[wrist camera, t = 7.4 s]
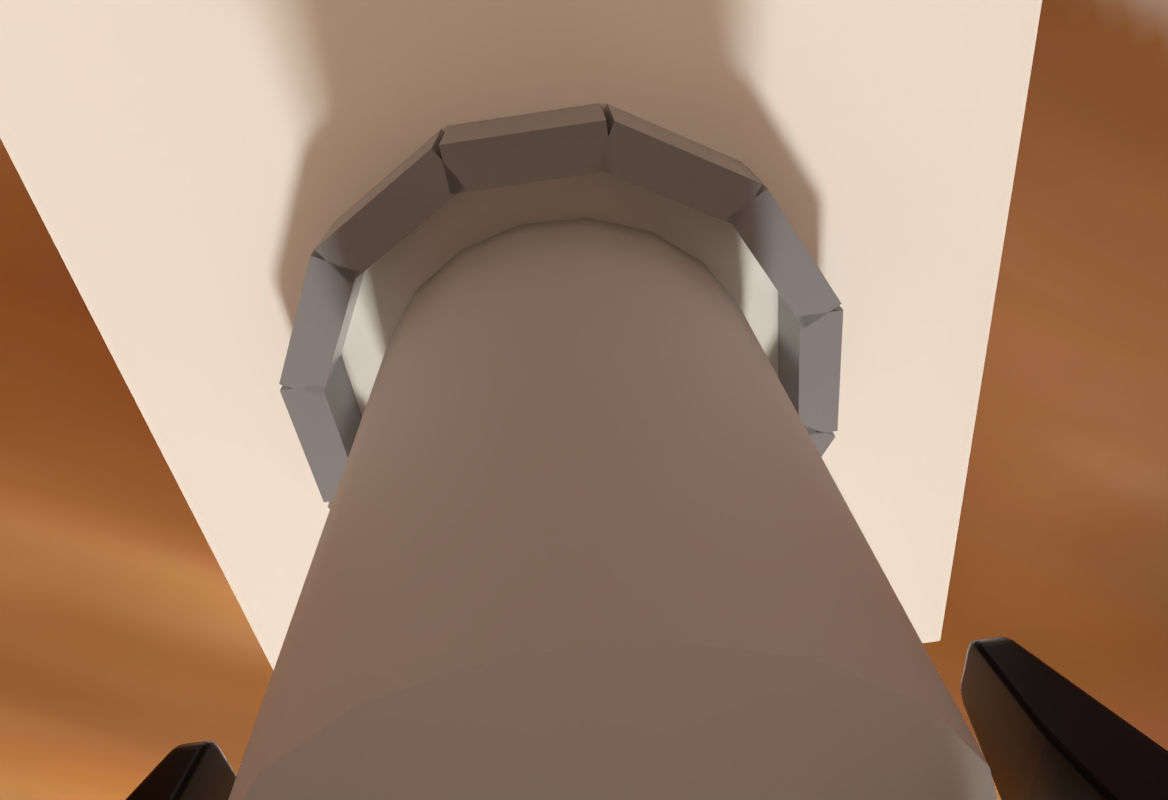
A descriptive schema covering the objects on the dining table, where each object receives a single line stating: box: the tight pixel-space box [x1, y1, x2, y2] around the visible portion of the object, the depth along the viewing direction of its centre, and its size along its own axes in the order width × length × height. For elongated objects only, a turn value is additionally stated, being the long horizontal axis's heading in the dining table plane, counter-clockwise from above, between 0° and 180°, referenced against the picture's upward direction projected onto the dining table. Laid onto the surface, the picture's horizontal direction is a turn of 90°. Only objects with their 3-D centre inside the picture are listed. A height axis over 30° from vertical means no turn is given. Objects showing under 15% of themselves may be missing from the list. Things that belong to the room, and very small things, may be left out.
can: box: [228, 218, 997, 800], centre depth 11 cm, size 8×8×12 cm
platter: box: [0, 0, 1042, 670], centre depth 16 cm, size 18×20×2 cm
